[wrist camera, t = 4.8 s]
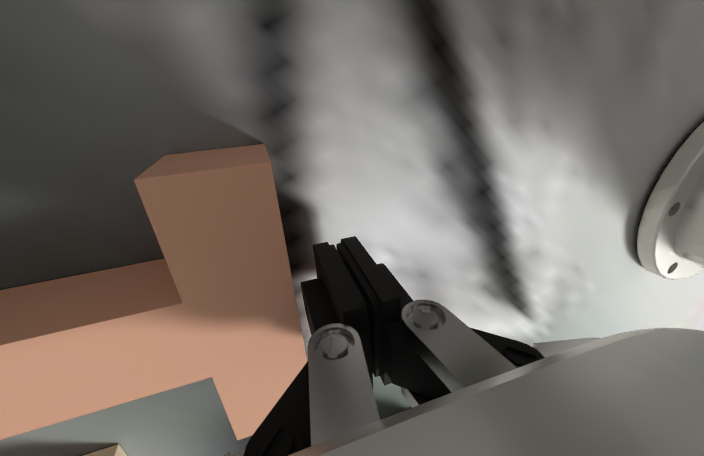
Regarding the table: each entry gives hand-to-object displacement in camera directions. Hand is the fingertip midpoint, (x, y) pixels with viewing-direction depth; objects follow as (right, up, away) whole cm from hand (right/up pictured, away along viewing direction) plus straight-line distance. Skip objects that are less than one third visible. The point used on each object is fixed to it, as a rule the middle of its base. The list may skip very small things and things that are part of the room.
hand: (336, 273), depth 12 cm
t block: (-7, -1, -1) cm, 7 cm away
